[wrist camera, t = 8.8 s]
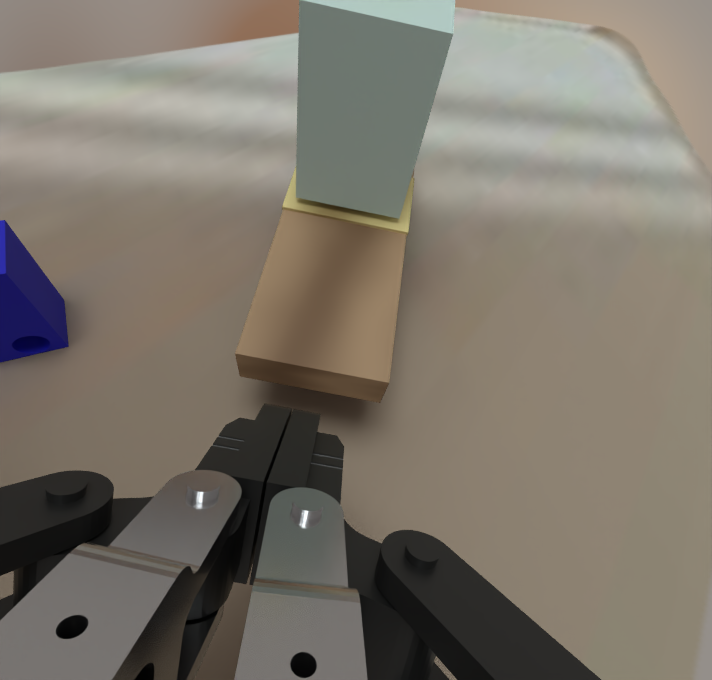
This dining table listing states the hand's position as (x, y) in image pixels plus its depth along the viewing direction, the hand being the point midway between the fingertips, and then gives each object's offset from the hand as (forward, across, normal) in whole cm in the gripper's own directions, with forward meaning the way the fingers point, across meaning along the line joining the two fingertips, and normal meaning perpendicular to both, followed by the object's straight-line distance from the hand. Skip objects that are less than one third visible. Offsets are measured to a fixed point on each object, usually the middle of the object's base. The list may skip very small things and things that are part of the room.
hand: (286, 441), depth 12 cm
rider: (+13, 0, -8) cm, 15 cm away
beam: (+17, 0, -3) cm, 17 cm away
